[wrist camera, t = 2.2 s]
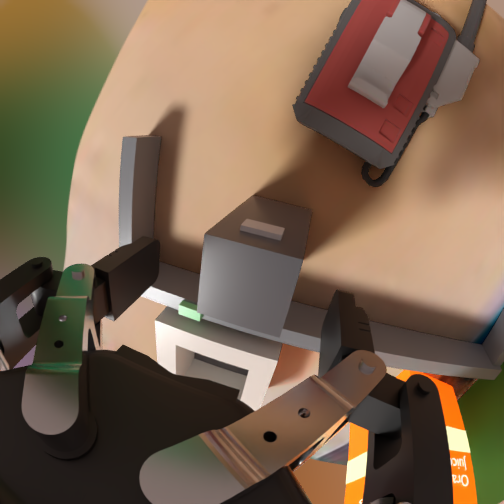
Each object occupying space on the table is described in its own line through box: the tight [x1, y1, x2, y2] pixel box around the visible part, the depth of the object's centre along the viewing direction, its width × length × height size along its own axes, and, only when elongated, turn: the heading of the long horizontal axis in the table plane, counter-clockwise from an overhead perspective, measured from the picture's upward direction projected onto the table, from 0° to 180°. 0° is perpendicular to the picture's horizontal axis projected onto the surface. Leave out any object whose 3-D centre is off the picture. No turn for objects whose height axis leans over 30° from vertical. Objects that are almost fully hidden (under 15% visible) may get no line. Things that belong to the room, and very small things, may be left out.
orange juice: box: [344, 370, 477, 504], centre depth 13 cm, size 8×9×20 cm
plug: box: [197, 195, 312, 338], centre depth 15 cm, size 4×4×8 cm
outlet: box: [155, 306, 282, 411], centre depth 22 cm, size 9×9×4 cm
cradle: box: [119, 135, 504, 380], centre depth 16 cm, size 33×11×4 cm, turn 80°
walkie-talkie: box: [292, 0, 487, 187], centre depth 10 cm, size 9×4×20 cm
